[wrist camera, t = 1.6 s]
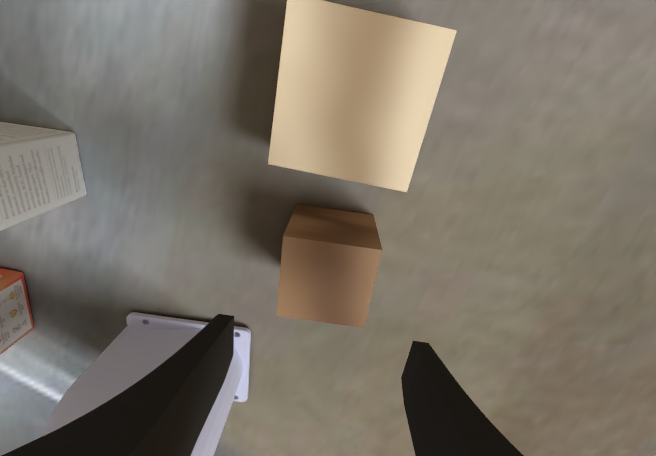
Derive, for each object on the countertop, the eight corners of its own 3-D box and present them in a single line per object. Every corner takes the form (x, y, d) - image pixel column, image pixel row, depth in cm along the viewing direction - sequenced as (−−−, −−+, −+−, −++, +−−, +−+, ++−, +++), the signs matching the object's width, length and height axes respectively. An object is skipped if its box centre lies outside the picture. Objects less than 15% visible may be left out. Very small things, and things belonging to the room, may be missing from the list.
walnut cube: (290, 269, 22) (276, 315, 17) (296, 203, 20) (283, 236, 15) (359, 279, 22) (364, 327, 18) (373, 214, 20) (382, 250, 16)
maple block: (282, 150, 19) (267, 164, 15) (300, 15, 16) (288, -8, 12) (394, 173, 19) (406, 192, 15) (430, 44, 16) (456, 30, 13)
